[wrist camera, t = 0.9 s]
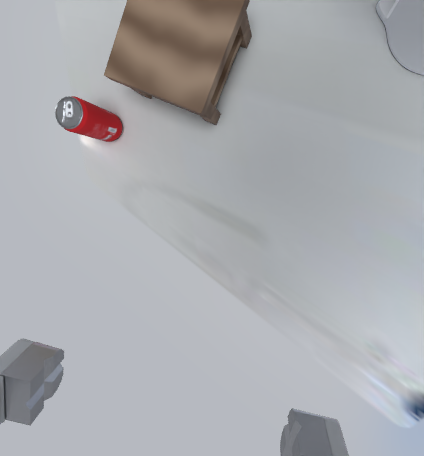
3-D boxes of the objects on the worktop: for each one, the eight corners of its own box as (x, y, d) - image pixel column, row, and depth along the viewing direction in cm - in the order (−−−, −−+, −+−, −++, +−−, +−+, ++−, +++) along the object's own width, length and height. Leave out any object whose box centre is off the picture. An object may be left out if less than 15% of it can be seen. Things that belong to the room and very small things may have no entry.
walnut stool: (169, 4, 53) (140, -43, 43) (255, 33, 51) (247, -8, 40) (138, 96, 56) (103, 75, 46) (217, 129, 54) (201, 113, 43)
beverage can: (99, 142, 59) (54, 130, 48) (99, 114, 59) (53, 95, 47) (124, 142, 58) (84, 130, 46) (124, 113, 57) (83, 94, 46)
